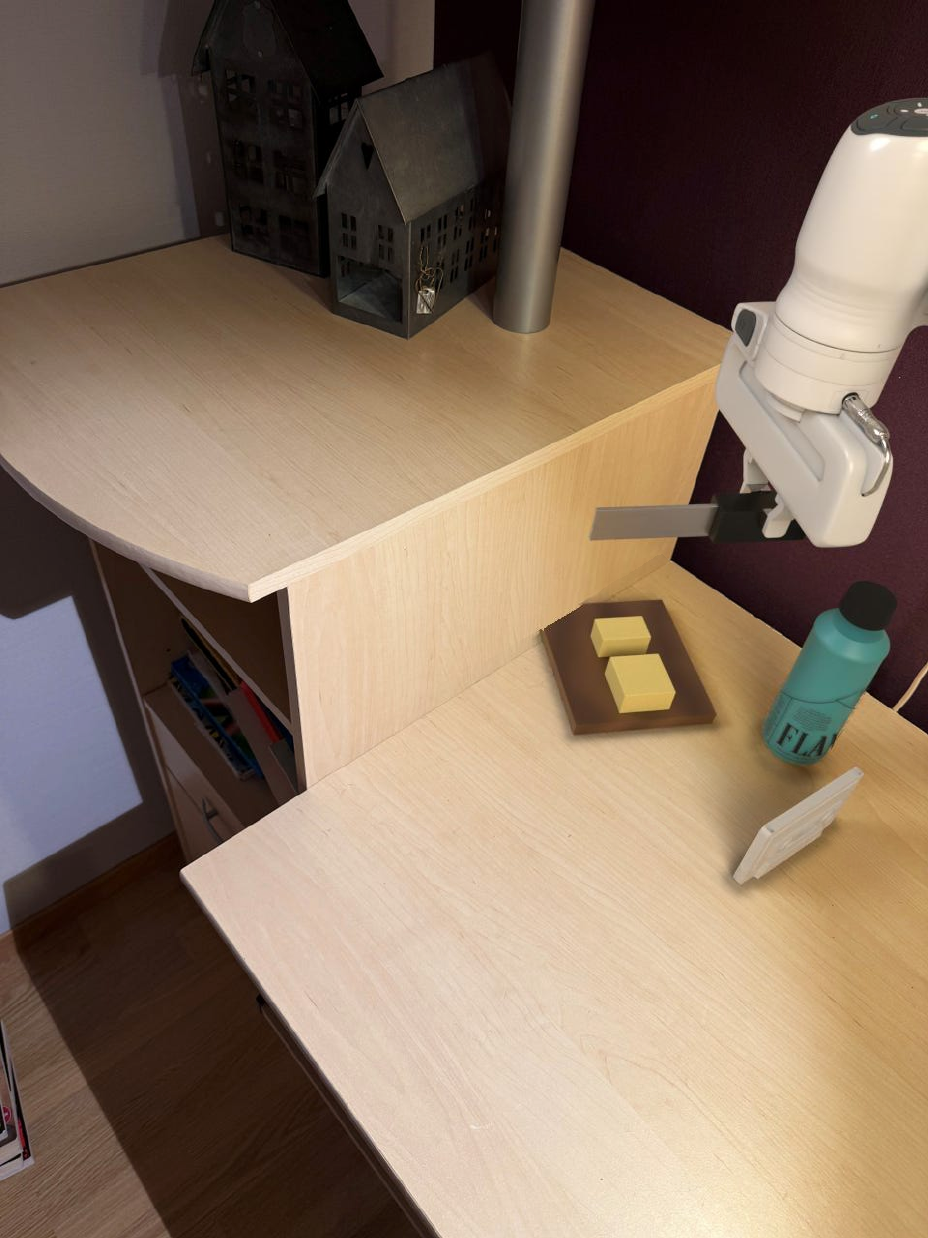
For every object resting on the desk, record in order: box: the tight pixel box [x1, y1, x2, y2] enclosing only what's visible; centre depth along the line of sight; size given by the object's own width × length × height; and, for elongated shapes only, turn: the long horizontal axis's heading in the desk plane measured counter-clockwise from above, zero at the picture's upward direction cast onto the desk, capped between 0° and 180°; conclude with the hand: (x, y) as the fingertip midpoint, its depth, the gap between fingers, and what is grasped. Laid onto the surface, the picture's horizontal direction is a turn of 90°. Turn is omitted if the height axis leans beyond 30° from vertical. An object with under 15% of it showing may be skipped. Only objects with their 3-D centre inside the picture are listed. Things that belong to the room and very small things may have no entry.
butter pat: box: [591, 616, 651, 657], centre depth 91 cm, size 5×3×2 cm, turn 100°
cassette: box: [732, 765, 865, 886], centre depth 75 cm, size 12×2×8 cm, turn 124°
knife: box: [588, 491, 807, 545], centre depth 72 cm, size 18×2×3 cm, turn 100°
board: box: [538, 599, 717, 736], centre depth 91 cm, size 14×16×2 cm
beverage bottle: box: [761, 580, 898, 767], centre depth 79 cm, size 6×7×20 cm
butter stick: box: [605, 654, 676, 713], centre depth 87 cm, size 5×5×2 cm
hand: (759, 516), depth 73 cm, fingers closed on knife, 2 cm apart
